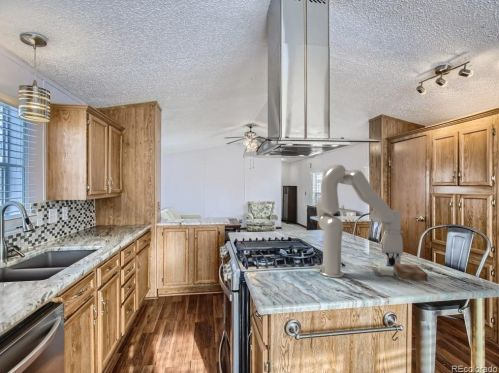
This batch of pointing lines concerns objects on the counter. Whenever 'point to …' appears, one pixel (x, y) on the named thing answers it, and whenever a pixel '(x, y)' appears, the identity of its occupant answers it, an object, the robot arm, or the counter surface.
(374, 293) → the counter surface
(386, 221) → the robot arm
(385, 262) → the medicine box
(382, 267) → the card
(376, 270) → the mat
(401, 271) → the brown curved piece
